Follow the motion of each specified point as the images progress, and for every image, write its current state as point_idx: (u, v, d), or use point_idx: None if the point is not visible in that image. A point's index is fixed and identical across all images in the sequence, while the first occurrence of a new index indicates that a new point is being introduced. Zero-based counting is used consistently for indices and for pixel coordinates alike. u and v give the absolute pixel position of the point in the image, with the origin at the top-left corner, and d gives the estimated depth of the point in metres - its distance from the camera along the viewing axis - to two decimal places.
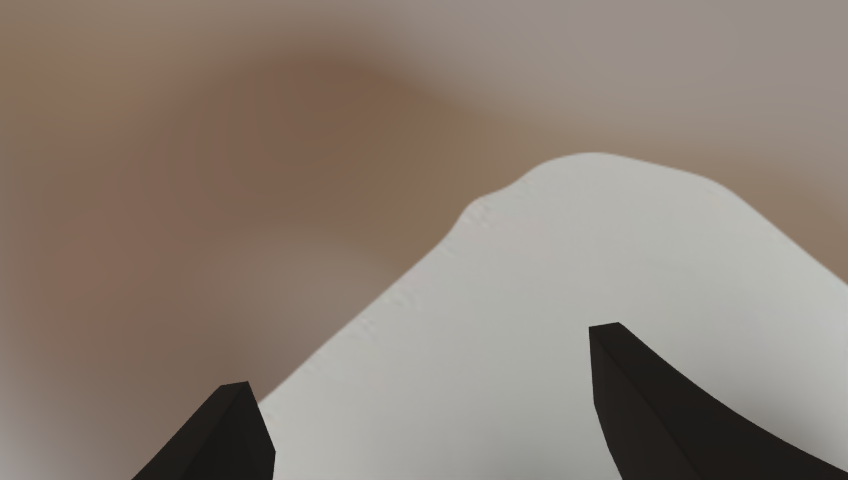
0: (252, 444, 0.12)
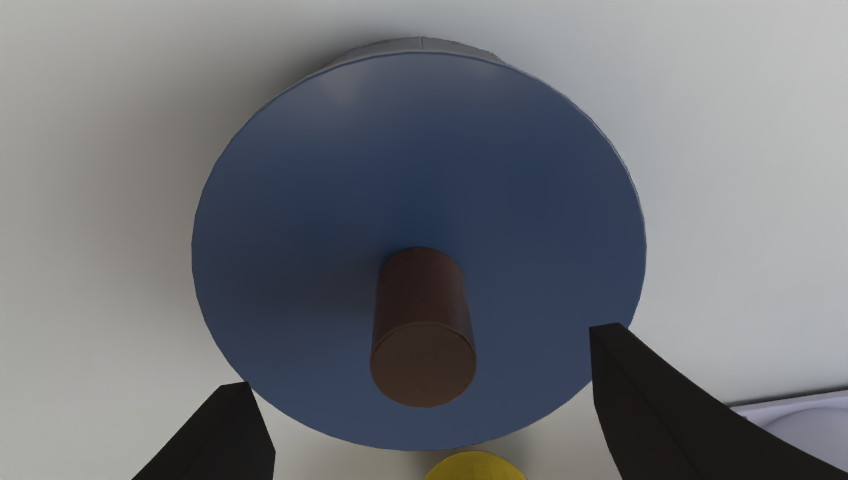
0: (252, 444, 0.12)
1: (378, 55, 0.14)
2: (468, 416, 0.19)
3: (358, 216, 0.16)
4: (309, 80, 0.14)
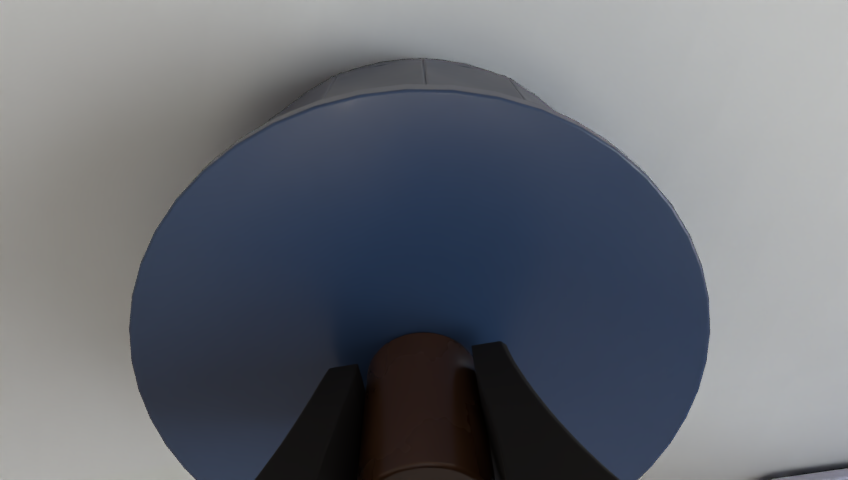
0: None
1: (366, 93, 0.10)
2: None
3: (342, 295, 0.12)
4: (275, 126, 0.11)
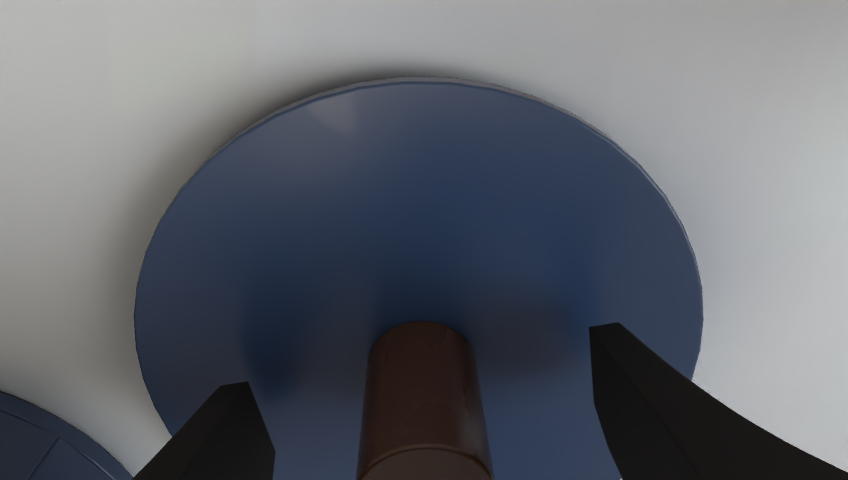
0: (252, 444, 0.12)
1: (366, 86, 0.11)
2: None
3: (343, 284, 0.12)
4: (277, 118, 0.11)
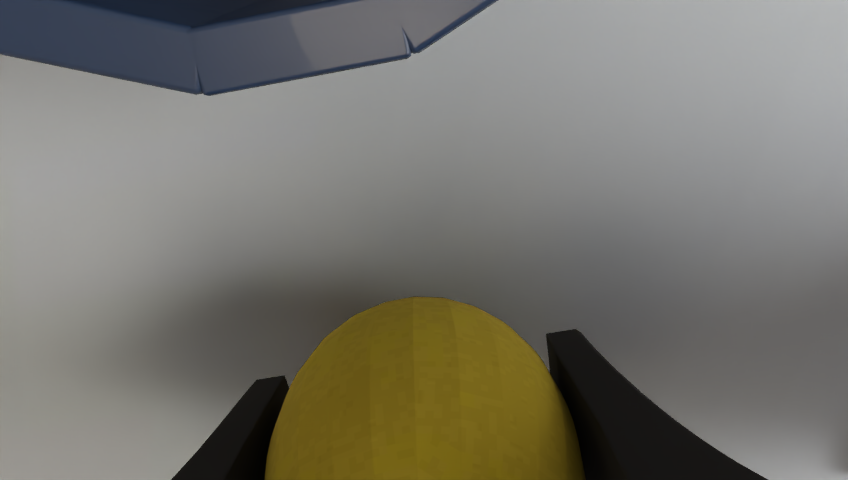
0: None
1: None
2: None
3: None
4: None
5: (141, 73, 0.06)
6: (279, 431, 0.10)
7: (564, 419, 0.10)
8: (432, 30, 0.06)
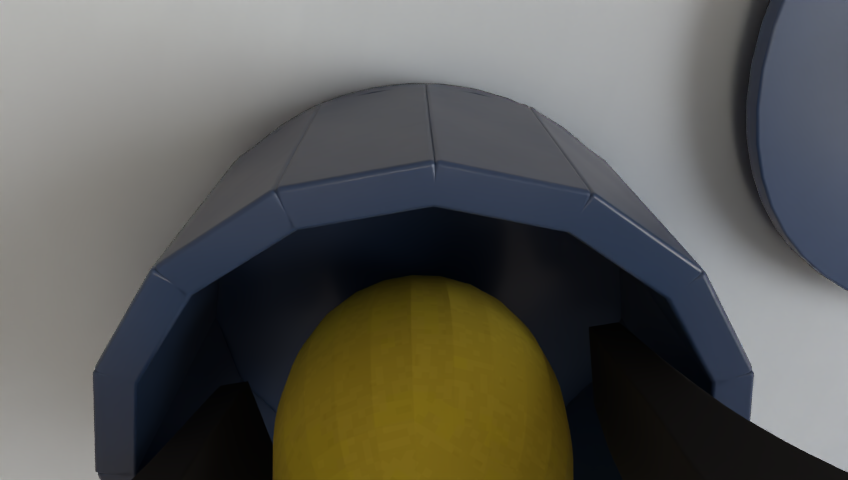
0: (252, 444, 0.12)
1: None
2: None
3: None
4: None
5: None
6: (287, 395, 0.11)
7: (551, 384, 0.10)
8: None
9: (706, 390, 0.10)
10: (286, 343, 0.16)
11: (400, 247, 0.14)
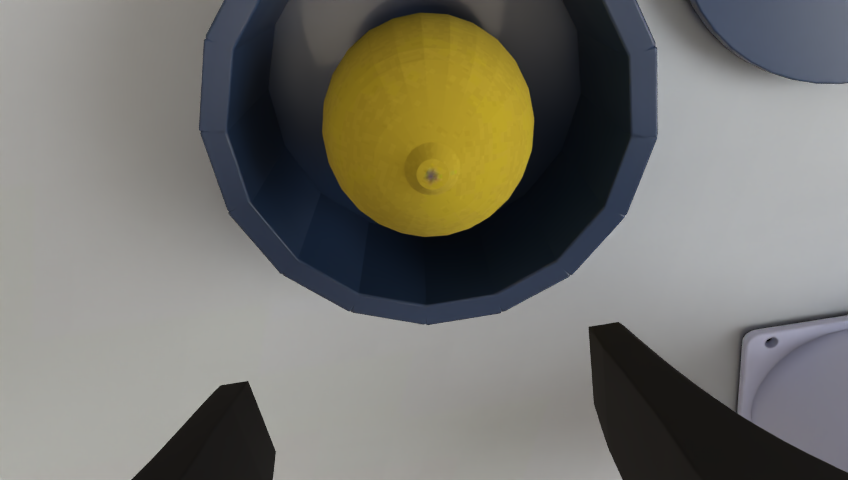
0: (252, 444, 0.12)
1: None
2: None
3: None
4: None
5: (405, 318, 0.18)
6: (333, 75, 0.15)
7: (518, 67, 0.15)
8: (509, 305, 0.18)
9: (626, 68, 0.15)
10: (321, 115, 0.20)
11: None
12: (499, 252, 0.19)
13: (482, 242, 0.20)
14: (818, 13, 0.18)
